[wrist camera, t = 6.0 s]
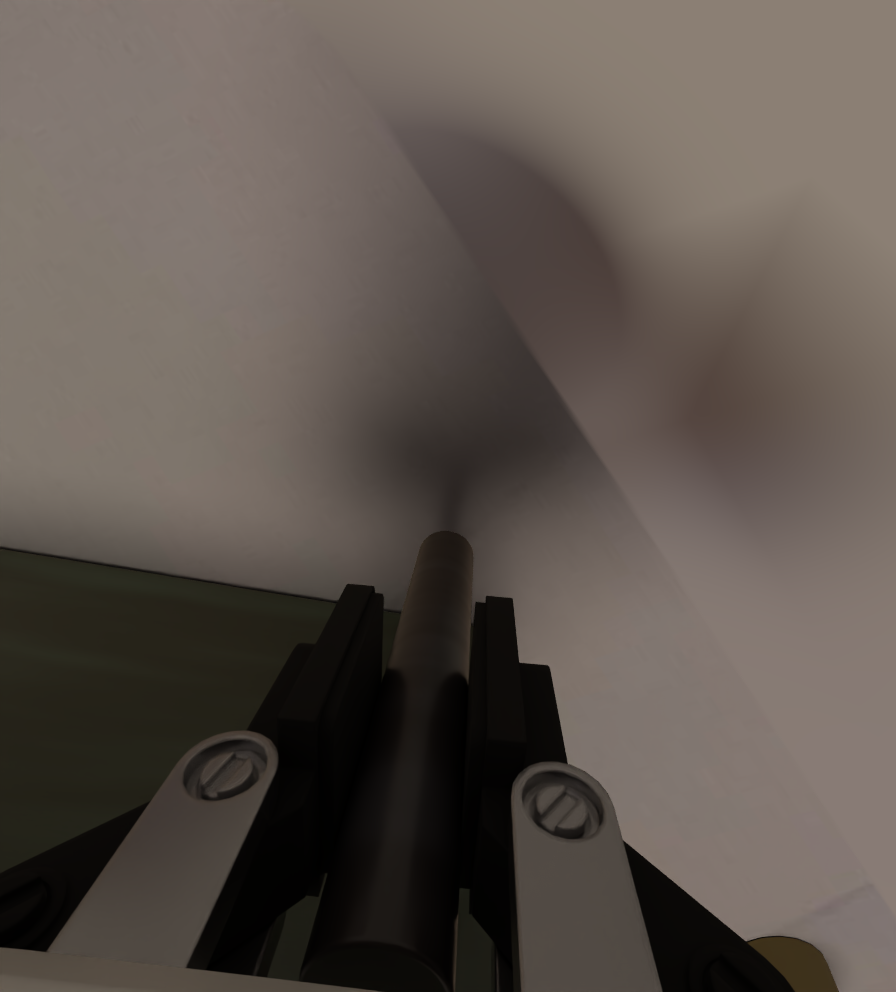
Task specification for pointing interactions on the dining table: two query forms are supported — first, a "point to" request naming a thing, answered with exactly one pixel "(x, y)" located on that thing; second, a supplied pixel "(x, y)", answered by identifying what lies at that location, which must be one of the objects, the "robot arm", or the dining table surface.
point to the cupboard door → (231, 707)
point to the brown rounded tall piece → (797, 963)
